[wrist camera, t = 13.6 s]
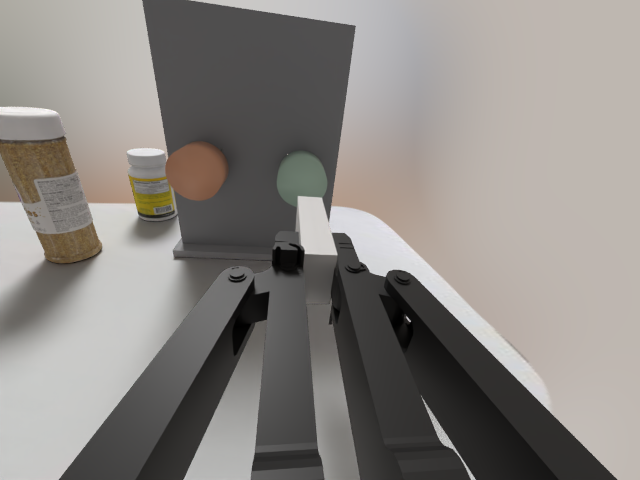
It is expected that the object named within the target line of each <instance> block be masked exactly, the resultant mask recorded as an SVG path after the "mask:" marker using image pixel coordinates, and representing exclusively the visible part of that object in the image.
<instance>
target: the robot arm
mask: <svg viewBox="0 0 640 480" xmlns="http://www.w3.org/2000/svg"><path fill="white" fill-rule="evenodd" d="M331 298H332V308H331V314H330V320H329V324H332V320H333V326H334V332H335V337H336V343H337V349H338V354H339V360H340V366H341V372H342V377H343V383H344V389H345V394H346V400H347V406H348V412H349V417H350V423H351V429H352V434H353V440H354V446H355V451H356V457H357V463H358V469H359V474H360V480H471V479H470V477H469V475H468V472H467V470H466V468H465V466H464V464H463V463H462V461H461V459H460V457H459V456H458V455H457V454H456V452H455V451H454V450H453V449H451V448H449V447H446V446H444V445H443V444H442V443H441V442H440V440H439V438H438V436H437V434H436V431H435V429H434V426H433V424H432V422H431V419H430V417H429V414H428V412H427V410H426V407H425V405H424V402H423V400H422V398H423V399H424V401H425V402H426V404H427V405H428V407H429V408H430V410H431V411H432V413H433V414H434V416H435V417H436V419H437V421H438V422H439V424H440V425H441V427H442V428H443V430H444V431H445V433H446V434H447V436H448V437H449V439H450V440H451V442H452V443H453V445H454V447H455V448H456V450H457V451H458V453H459V454H460V456H461V457H462V459H463V460H464V462H465V463H466V465H467V466H468V468H469V470H470V471H471V473H472V474H473V476H474V477H475V479H476V480H617V479H616V478H615V477H614V476H613V475H612V474H611V473H610V472H609V471H608V470H607V469H606V468H605V467H604V466H603V465H602V464H601V463H600V462H599V461H598V460H597V459H596V458H595V457H594V456H593V455H592V454H591V453H590V452H589V451H588V450H587V449H586V448H585V447H584V446H583V445H582V444H581V443H580V442H579V441H578V440H577V439H576V438H575V437H574V436H573V435H572V434H571V433H570V432H569V431H568V430H567V429H566V428H565V427H564V426H563V425H562V424H561V423H560V422H559V421H558V420H557V419H556V418H555V417H554V416H553V415H552V414H551V413H550V412H549V411H548V410H547V409H546V408H545V407H544V406H543V405H542V404H541V403H540V402H539V401H538V400H537V399H536V398H535V397H534V396H533V395H532V394H531V393H530V392H529V391H528V390H527V389H526V388H525V387H524V386H523V385H522V384H521V383H520V382H519V381H518V380H517V379H516V378H515V377H514V376H513V375H512V374H511V373H510V372H509V371H508V370H507V369H506V368H505V367H504V366H503V365H502V364H501V363H500V362H499V361H498V360H497V359H496V358H495V357H494V356H493V355H492V354H491V353H490V352H489V351H488V350H487V349H486V348H485V347H484V346H483V345H482V344H481V343H480V342H479V341H478V340H477V339H476V338H475V337H474V336H473V335H472V334H471V333H470V332H469V331H468V330H467V329H466V328H465V327H464V326H463V325H462V324H461V323H460V322H459V321H458V320H457V319H456V318H455V317H454V316H453V315H452V314H451V313H450V312H449V311H448V310H447V309H446V308H445V307H444V306H443V305H442V304H441V303H440V302H439V301H438V300H437V299H436V298H435V297H434V296H433V295H432V294H431V293H430V292H429V291H428V290H427V289H426V288H425V287H424V286H423V285H422V284H421V283H420V282H419V281H418V280H417V279H416V278H415V277H414V276H413V275H411V274H410V273H408V272H406V271H402V270H392V271H389V272H388V273H387V275H386V277H383V276H379V275H375V274H372V273H370V272H369V270H368V268H367V266H366V265H365V264H363V263H362V262H359V259H358V257H357V254H356V252H355V249H354V246H353V245H352V241H351V239H350V237H348V236H347V235H346V234H345V233H331V229H330V226H329V222H328V218H327V215H326V211H325V207H324V204H323V200H322V198H320V197H305V196H298V201H297V215H296V230H295V232H291V231H279V232H278V234H277V235H276V236H275V246H274V247H273V249H272V266H271V267H270V268H269V269H267V270H265V271H263V272H259V273H254V272H253V271H252V270H251V269H250V268H247V267H244V266H234V267H230V268H227V269H225V270H224V271H223V272H221V273H220V275H219V276H218V277H217V279H216V280H215V281H214V282H213V284H212V285H211V286H210V287H209V289H208V290H207V291H206V293H205V294H204V295H203V296H202V298H201V299H200V300H199V302H198V303H197V304H196V305H195V307H194V308H193V309H192V310H191V312H190V313H189V314H188V316H187V317H186V318H185V319H184V321H183V322H182V323H181V324H180V326H179V327H178V328H177V330H176V331H175V332H174V333H173V335H172V336H171V337H170V339H169V340H168V341H167V342H166V344H165V345H164V346H163V347H162V349H161V350H160V351H159V353H158V354H157V355H156V356H155V358H154V359H153V360H152V361H151V363H150V364H149V365H148V367H147V368H146V369H145V370H144V372H143V373H142V374H141V376H140V377H139V378H138V379H137V381H136V382H135V383H134V384H133V386H132V387H131V388H130V390H129V391H128V392H127V393H126V395H125V396H124V397H123V398H122V400H121V401H120V402H119V404H118V405H117V406H116V407H115V409H114V410H113V411H112V413H111V414H110V415H109V416H108V418H107V419H106V420H105V421H104V423H103V424H102V425H101V427H100V428H99V429H98V430H97V432H96V433H95V434H94V435H93V437H92V438H91V439H90V441H89V442H88V443H87V444H86V446H85V447H84V448H83V450H82V451H81V452H80V453H79V455H78V456H77V457H76V458H75V460H74V461H73V462H72V464H71V465H70V466H69V467H68V469H67V470H66V471H65V472H64V474H63V475H62V476H61V478H60V479H59V480H183V479H184V477H185V475H186V473H187V471H188V468H189V466H190V464H191V462H192V460H193V458H194V456H195V453H196V451H197V449H198V447H199V445H200V443H201V440H202V438H203V436H204V434H205V432H206V430H207V427H208V425H209V423H210V421H211V419H212V417H213V415H214V412H215V410H216V408H217V406H218V404H219V402H220V399H221V397H222V395H223V393H224V391H225V389H226V387H227V384H228V382H229V380H230V378H231V376H232V374H233V371H234V369H235V367H236V365H237V363H238V361H239V359H240V356H241V354H242V352H243V350H244V348H245V346H246V343H247V341H248V339H249V337H250V335H251V333H252V331H253V328H254V326H255V323H256V322H259V321H263V320H267V326H266V337H265V348H264V359H263V370H262V380H261V391H260V402H259V413H258V424H257V435H256V446H255V455H254V460H253V465H252V472H251V480H324V474H323V465H322V460H321V457H320V455H319V453H318V446H317V435H316V422H315V409H314V397H313V384H312V371H311V358H310V345H309V333H308V320H307V307H306V304H330V299H331ZM406 316H407V317H408V318H409V319H410V320H411V322H409V321H408V320H407V319H406ZM420 394H421V395H420ZM421 396H422V398H421Z"/></svg>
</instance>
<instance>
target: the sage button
mask: <svg viewBox="0 0 640 480" xmlns="http://www.w3.org/2000/svg"><path fill="white" fill-rule="evenodd" d="M277 189H278V192H279V194H280V196H281V197H282V198H283V200H284V201H286V202H287V203H288V204H290V205H292V206H295V207H297V201H298V196H305V197H320V198H323V196H324V194H325V192H326V190H327V177H326V174H325V171H324V168H323V165H322V163H321V161H320V160H319V158H318V157H317V156H315V155H314V154H312V153H310V152H308V151H294V152H292V153H290V154H288V155H287V156H286V157H285V158H284V159H283V160H282V162H281V163H280V166H279V170H278V176H277Z"/></svg>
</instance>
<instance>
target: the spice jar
mask: <svg viewBox="0 0 640 480" xmlns="http://www.w3.org/2000/svg"><path fill="white" fill-rule="evenodd" d="M65 134H66V132H65V129H64V126H63V123H62V121H61V118H60V115H59V114H58V113H57V112H55V111H52V110H48V109H41V108H31V107H30V108H29V107H0V154H1V156H2V159H3V161H4V163H5V166H6V168H7V170H8V172H9V174H10V176H11V178H12V182H13V185H14V187H15V189H16V191H17V194H18V196H19V198H20V201H21V203H22V205H23V207H24V209H25V211H26V213H27V216H28V218H29V220H30V222H31V225H32V227H33V229H34V230H35V231H36V233H37V236H38V238H39V240H40V242H41V244H42V247H43V249H44V251H45V253H44V255H45V257H46V258H47V260H49V261H51V262H55V263H72V262H76V261H80V260H83V259H86V258H89V257H91V256H93V255H95V254H97V253H98V252H99V251H100V250H101V248H102V243H101V241H100V240H99V239H98V236H97V233H96V230H95V227H94V225H93V218H92V215H91V212H90V209H89V206H88V203H87V200H86V197H85V194H84V191H83V188H82V185H81V182H80V179H79V176H78V173H77V170H76V169H75V167H74V164H73V161H72V158H71V155H70V152H69V149H68V146H67V144H66V138H65V137H64V135H65Z"/></svg>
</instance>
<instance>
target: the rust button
mask: <svg viewBox="0 0 640 480" xmlns="http://www.w3.org/2000/svg"><path fill="white" fill-rule="evenodd" d="M228 172H229V167H228V162H227V160H226V158H225V156H224V154H223V148H217V147H215V146H214V145H212V144H210V143H207V142H203V141H195V142H191V143H189V144H187V145H185V146H184V147H182V148H180V149H179V150H177V151H175V152H174V153H172V154H171V155H170V156H169V158H168V160H167V162H166V165H165V174H166V178H167V180H168V182H169V184H170V185H171V187H172V188H173V189H174V190H175V191H176V192H177V193H178V194H180V195H181V196H183V197H185V198H187V199H190V200H196V201H202V200H207V199H209V198H211V197H213V196H214V195H215V194H216V193H217V192H218V190H219V189H220V187H221V186H222V185H223V183H224V182H225V180H226V178H227V176H228Z"/></svg>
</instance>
